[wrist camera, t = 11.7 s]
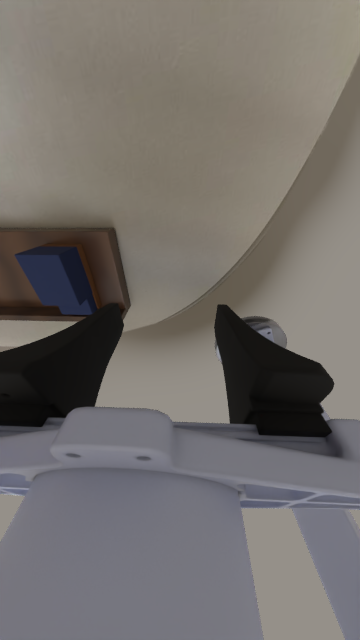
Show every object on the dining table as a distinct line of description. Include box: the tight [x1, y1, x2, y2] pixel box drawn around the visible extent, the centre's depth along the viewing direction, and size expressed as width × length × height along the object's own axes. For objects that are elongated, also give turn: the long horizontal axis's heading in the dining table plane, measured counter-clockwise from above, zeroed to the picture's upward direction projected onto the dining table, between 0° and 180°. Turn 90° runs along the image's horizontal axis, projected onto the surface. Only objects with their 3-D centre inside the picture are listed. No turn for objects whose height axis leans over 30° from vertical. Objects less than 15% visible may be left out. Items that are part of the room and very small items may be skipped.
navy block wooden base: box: [14, 244, 102, 315], centre depth 18 cm, size 8×4×4 cm, turn 0°
